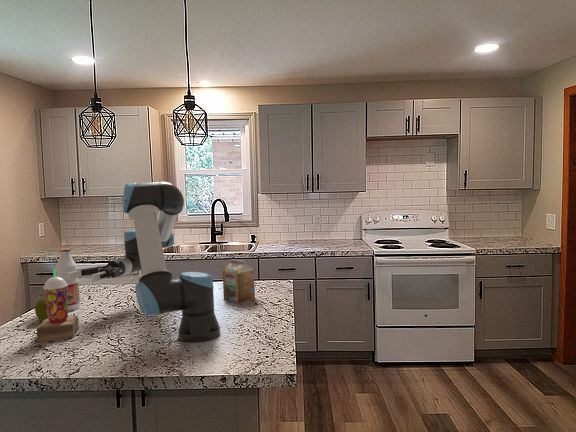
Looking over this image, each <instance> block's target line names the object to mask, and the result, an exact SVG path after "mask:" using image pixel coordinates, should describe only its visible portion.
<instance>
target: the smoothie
mask: <svg viewBox="0 0 576 432" xmlns="http://www.w3.org/2000/svg"><path fill="white" fill-rule="evenodd" d="M52 271H53V276H52V277H50V278H48V279H47V280H46V282H45V283H44V285H43V287H42V289H43V295H44V298H45V303H46V310H47V316H48V320H49V321H50V323H61V322H64V321H66V320H67V317H69V311H68V284H67V283H66V281H65V280H64V279H63V278H61V277H57V274H56V271H55V268H54V269H53V270H52Z"/></svg>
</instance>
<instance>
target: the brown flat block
mask: <svg viewBox="0 0 576 432" xmlns="http://www.w3.org/2000/svg"><path fill="white" fill-rule="evenodd" d="M79 327H80V325H79V315H70V316H68V317H67V320H66V321H64V322H61V323H50V321H49V320H48V319H44V320H43V321H41V323H40V324H39V325H38V326H37V327H36V337H37V339H36V340H37V343H42V342H41V341H43V342H49V341H48V340H51V341H57V340H58V339H60V340H66V339H65V338H68V339H74V338H75V336H76V334H77V332H78V330H79V329H80V328H79Z"/></svg>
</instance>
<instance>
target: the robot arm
mask: <svg viewBox="0 0 576 432" xmlns="http://www.w3.org/2000/svg"><path fill="white" fill-rule="evenodd" d="M184 206H185V198H184V196H183V193H182V191H181V190H180V189H179V188H178V187H177V186H176V185H174V184H173V183H170V182H167V181H153V182H152V181H150V182H138V181H137V182H136V181H134V182H128V183H126V184H125V185H124V187H123V197H122V211H123V213H124V214H128V218H129V219H130V220H132V221H133V225H134V229H129V230H125V231H124V233H123V237H124V238H123V242H124V251H125V252H124V257H122V258H121V257H120V258H117V259H113V260H110V261H109V262H107V264H106V265H102V266H100V265H98V266H93V267H87V268H79V269H78V268H77V271H75V272H70V273H67V280H70V279H74V278H78V279H81V278H82V277H84V276H85V277H86V276H91V280H92V281H91V282H96V281H102V280H104V279H105V280H106V279H110V278H112V279H113V278H117V277H121V276H123V277H125V276H126V275H128V274H132V273H136V272H141V276H140V277H139V278H138V282H137V283H136V284H135V286H134V287H135V294H136V296H135V297H136V301H137V305H138V307H139V308H138V309H140V312H141V313H142V314H143V315H145V316H158V315H161V314H167V313H174V312H179V311H181V315H182V316H181V319H180V320H181V321H180V322H179V323H180V324H179V327H178V331H177V333H178V335H177V336H178V339H179V340H181V342H186V343H187V342H188V343H200V342H206V341H210V340H213V339H215V338H217V337H219V336H220V334H221V327H220V323H219V321H218V319H217V317H216V314H215V296H214V288H215V287H214V282H213V281H214V280H213V277H212V275H211V274H209V273H205V272H200V271H185V272H181V273H180V274H179V277H176V278H175V277H174V278H173V274H172V272H171V271H169V270H168V269H167V265H166V259H165V255H164V254H165V253H164V249H165V248H170V247H173V246H174V244H175V236H174V233H173V229H174V227H175V225H176V221H177V219H178V215H179V214H181V212H182V211H183V209H184ZM163 248H164V249H163Z"/></svg>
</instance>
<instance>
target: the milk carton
mask: <svg viewBox="0 0 576 432" xmlns="http://www.w3.org/2000/svg"><path fill="white" fill-rule="evenodd" d="M222 288H223V289H222V290H223V300H224V301H227V302H230V303H235V304H241V303H245V302H249V301H251V300H255V299H256V292H255V291H256V290H255V289H256V287H255V269H254V268H253V267H252V266H250V265H249V264H246V261H245V260H241V259H240V260H239V259H234V258H230V262H229V263H228V264H226V266H225V267H224V268H223V270H222Z"/></svg>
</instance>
